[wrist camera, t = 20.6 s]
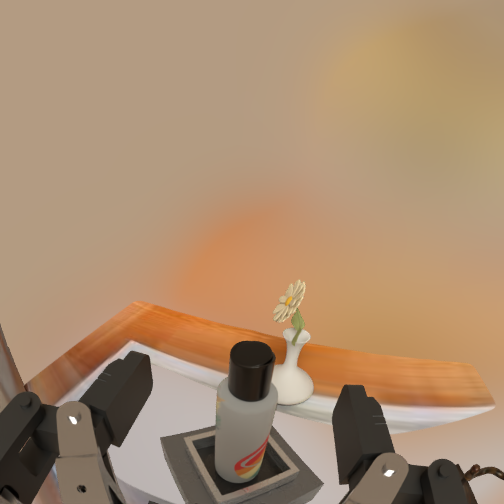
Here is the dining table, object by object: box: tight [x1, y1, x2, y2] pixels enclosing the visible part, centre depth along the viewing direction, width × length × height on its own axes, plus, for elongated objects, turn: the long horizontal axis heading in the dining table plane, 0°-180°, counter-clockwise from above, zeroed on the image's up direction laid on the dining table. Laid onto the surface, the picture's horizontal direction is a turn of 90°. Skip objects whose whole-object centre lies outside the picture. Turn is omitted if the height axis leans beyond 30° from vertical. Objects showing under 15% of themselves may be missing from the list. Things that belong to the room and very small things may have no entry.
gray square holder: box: [160, 425, 324, 504], centre depth 28 cm, size 16×16×9 cm
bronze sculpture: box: [456, 464, 504, 504], centre depth 16 cm, size 16×11×18 cm
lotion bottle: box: [215, 341, 278, 483], centre depth 25 cm, size 6×6×20 cm
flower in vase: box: [271, 279, 314, 405], centre depth 47 cm, size 13×11×25 cm
